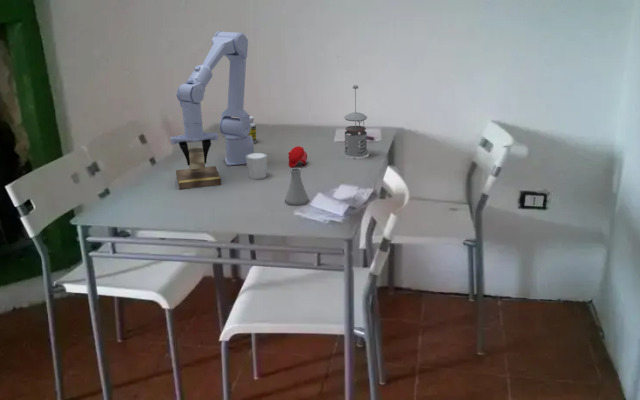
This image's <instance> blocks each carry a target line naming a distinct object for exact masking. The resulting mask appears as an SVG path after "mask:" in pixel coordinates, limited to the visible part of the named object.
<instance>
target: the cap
mask: <svg viewBox="0 0 640 400" xmlns="http://www.w3.org/2000/svg"><path fill="white" fill-rule="evenodd" d="M287 153H288V167H289V168H290V169H291V168H296V166H297V165H298V163H299V162H301V163H302V164H303V166H305V165H306V163H307V161H308V160H307V159H308V153H307V152H306V151H305V149H304V147H302V146H298V145H297V146H295V147H293V148H291V150H289V152H287Z"/></svg>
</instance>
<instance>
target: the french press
mask: <svg viewBox="0 0 640 400" xmlns="http://www.w3.org/2000/svg"><path fill="white" fill-rule="evenodd" d="M352 89H354V99H355V101H354V104H355V105H354V108H355V109H354V112H350V113H347V114H346V115H344V116H343V119H345V121H348V122H354V123H355V124H354V125H350V126H346V127H345V131H344V151H343V153H342V154H343V155H344V156H347V157H363V156H365V155H367V154H368V153H369V152H368V148H367V146H368V145H367V143H368V141H367V140H368V137H367V136H368V134H367V131H366V130H367V128H366V127H365V126H364V125H365V122H364V121H366V120H367V119H368V116H367V115H365V114H364V113H362V112H357V93H356V92H357V91H356V90H357V89H359V85H357V84H353V85H352ZM357 123H358V125H357ZM361 123H363V126H362V125H361ZM367 152H368V153H367Z"/></svg>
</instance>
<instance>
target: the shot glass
mask: <svg viewBox="0 0 640 400" xmlns="http://www.w3.org/2000/svg"><path fill="white" fill-rule="evenodd" d="M246 161H247V164H246V166H247V167H246V168H247V172H248V177H249V178H250V179H252V180H258V179H260V180H261V179H264V178H267V177H266V176H267V165H268V163H267V161H268V155H267V154H266V153H263V152H254V153H251V154H248V155H246Z"/></svg>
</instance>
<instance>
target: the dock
mask: <svg viewBox="0 0 640 400" xmlns="http://www.w3.org/2000/svg"><path fill="white" fill-rule="evenodd" d="M175 174H176V179H177V184H178V189H179V190H184V189H192V188H193V189H194V188H195V189H196V188H201V187H202V188H203V187H210V186H211V187H212V186H213V187H214V186H221V185H222V179H221V176H220V174H219V171H218V169H217V166H216V165H214V166H205V170H200V171H190V168H186V169H177V170H175Z"/></svg>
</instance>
